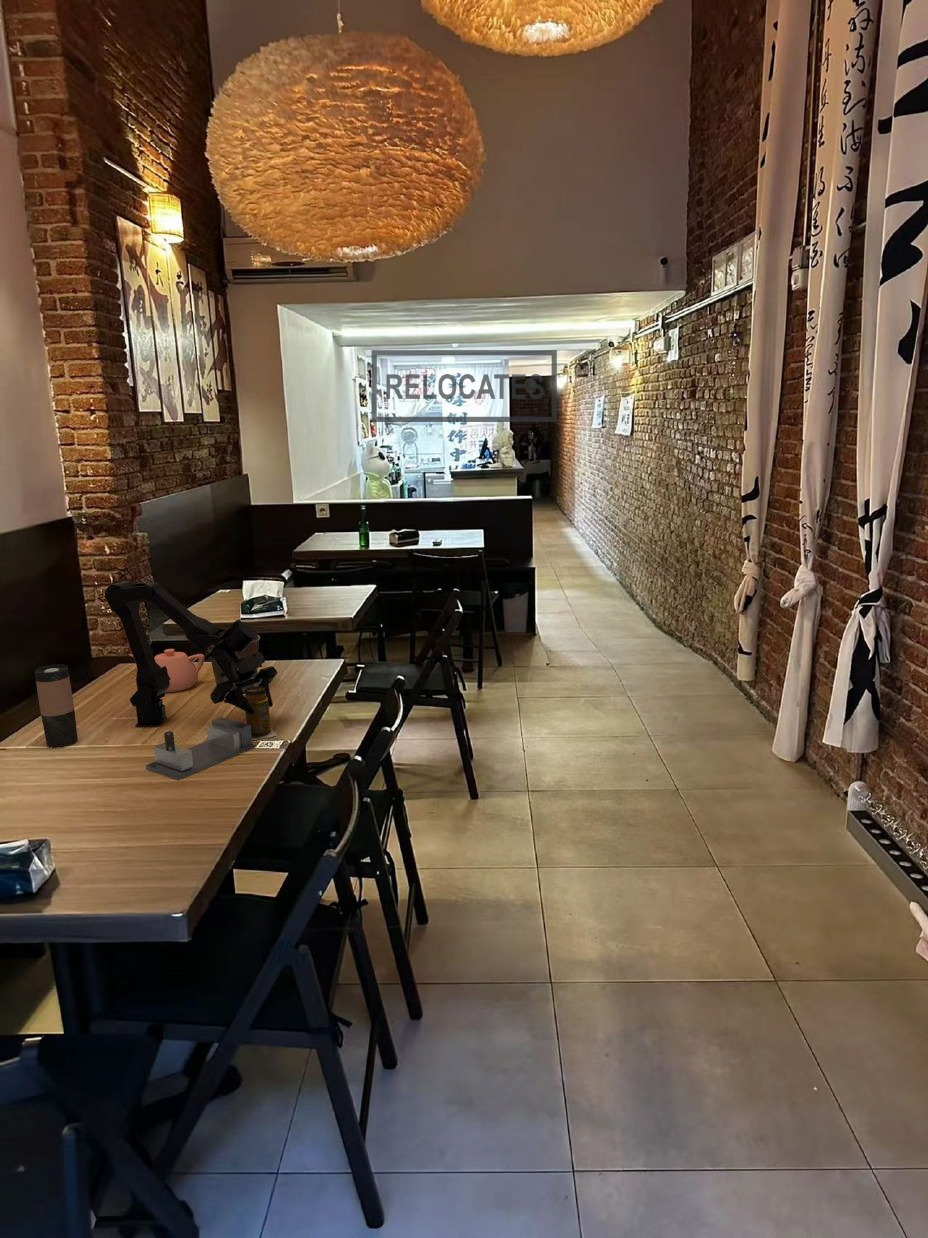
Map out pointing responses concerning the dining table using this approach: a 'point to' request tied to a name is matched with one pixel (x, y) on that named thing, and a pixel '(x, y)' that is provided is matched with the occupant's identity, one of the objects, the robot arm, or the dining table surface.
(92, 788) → the dining table surface
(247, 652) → the plant pot
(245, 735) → the vise
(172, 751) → the sliding jaw
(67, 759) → the dining table surface
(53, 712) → the travel mug
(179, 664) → the teapot
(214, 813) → the dining table surface
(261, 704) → the condiment
